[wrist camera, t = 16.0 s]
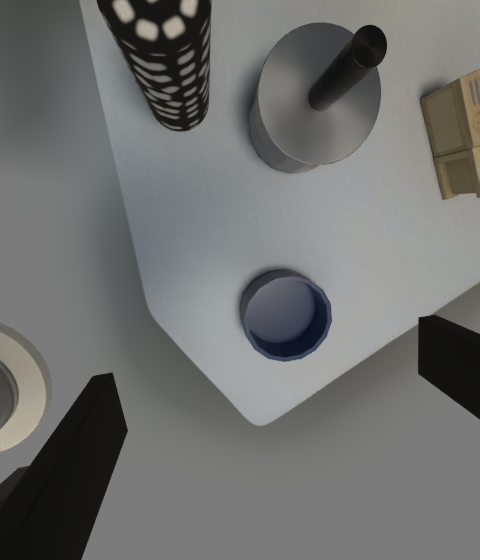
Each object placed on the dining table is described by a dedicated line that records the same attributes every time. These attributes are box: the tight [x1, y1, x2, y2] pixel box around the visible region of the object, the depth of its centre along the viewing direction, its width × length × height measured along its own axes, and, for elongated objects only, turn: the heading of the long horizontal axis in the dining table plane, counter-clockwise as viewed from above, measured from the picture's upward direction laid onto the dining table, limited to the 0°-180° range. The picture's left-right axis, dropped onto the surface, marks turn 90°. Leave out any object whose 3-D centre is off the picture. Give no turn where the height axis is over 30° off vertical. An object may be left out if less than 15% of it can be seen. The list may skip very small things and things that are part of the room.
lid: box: [257, 23, 387, 165], centre depth 28 cm, size 14×14×11 cm
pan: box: [240, 270, 332, 362], centre depth 46 cm, size 13×13×5 cm
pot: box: [248, 89, 319, 173], centre depth 38 cm, size 13×13×10 cm
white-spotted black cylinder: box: [97, 0, 211, 131], centre depth 31 cm, size 8×8×20 cm
